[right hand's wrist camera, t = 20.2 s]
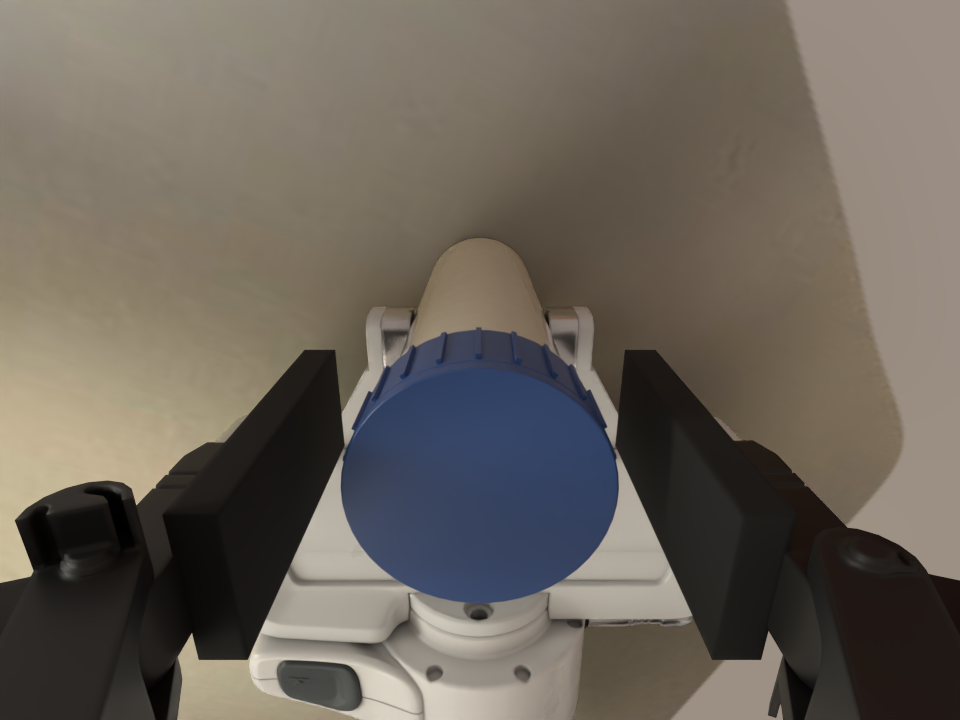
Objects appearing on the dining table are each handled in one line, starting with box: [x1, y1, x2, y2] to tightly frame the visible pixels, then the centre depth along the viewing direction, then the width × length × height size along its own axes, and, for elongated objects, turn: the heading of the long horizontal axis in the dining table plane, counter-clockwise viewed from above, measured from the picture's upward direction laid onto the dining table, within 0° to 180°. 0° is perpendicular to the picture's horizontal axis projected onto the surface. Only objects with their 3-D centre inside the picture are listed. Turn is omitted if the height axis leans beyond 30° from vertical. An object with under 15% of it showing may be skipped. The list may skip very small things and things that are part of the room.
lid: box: [341, 327, 619, 603], centre depth 11 cm, size 5×5×2 cm
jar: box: [399, 238, 561, 358], centre depth 18 cm, size 5×5×15 cm
